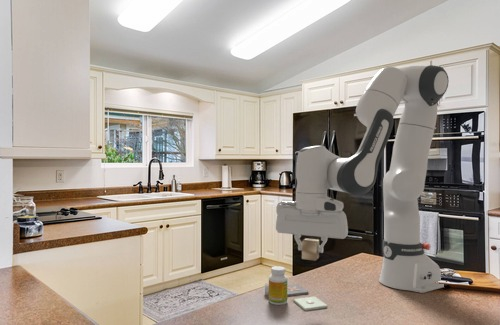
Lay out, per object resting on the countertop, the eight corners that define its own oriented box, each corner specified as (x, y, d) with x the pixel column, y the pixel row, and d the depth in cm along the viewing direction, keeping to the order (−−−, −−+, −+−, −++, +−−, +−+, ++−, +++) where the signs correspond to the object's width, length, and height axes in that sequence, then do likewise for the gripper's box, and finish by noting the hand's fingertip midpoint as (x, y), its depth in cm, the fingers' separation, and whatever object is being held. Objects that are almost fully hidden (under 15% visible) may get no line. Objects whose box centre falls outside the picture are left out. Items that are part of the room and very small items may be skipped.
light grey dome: (277, 290, 112) (277, 281, 112) (284, 296, 107) (284, 286, 107) (262, 292, 110) (262, 282, 110) (268, 298, 105) (268, 288, 105)
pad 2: (314, 298, 105) (314, 296, 105) (327, 307, 99) (327, 305, 99) (293, 301, 103) (293, 298, 103) (304, 310, 96) (304, 308, 96)
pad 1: (298, 286, 116) (298, 284, 116) (308, 293, 109) (308, 291, 109) (278, 288, 113) (278, 286, 113) (287, 296, 107) (287, 293, 107)
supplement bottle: (286, 306, 99) (286, 271, 99) (267, 304, 100) (267, 270, 100) (288, 299, 105) (288, 266, 105) (269, 297, 106) (270, 264, 106)
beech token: (319, 257, 102) (319, 239, 102) (315, 260, 98) (316, 242, 98) (305, 255, 103) (305, 238, 103) (301, 258, 100) (302, 241, 100)
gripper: (273, 201, 102) (272, 249, 102) (345, 205, 94) (345, 258, 94) (279, 199, 108) (279, 245, 108) (349, 203, 100) (348, 252, 100)
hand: (310, 251), depth 101 cm, fingers closed on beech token, 4 cm apart
